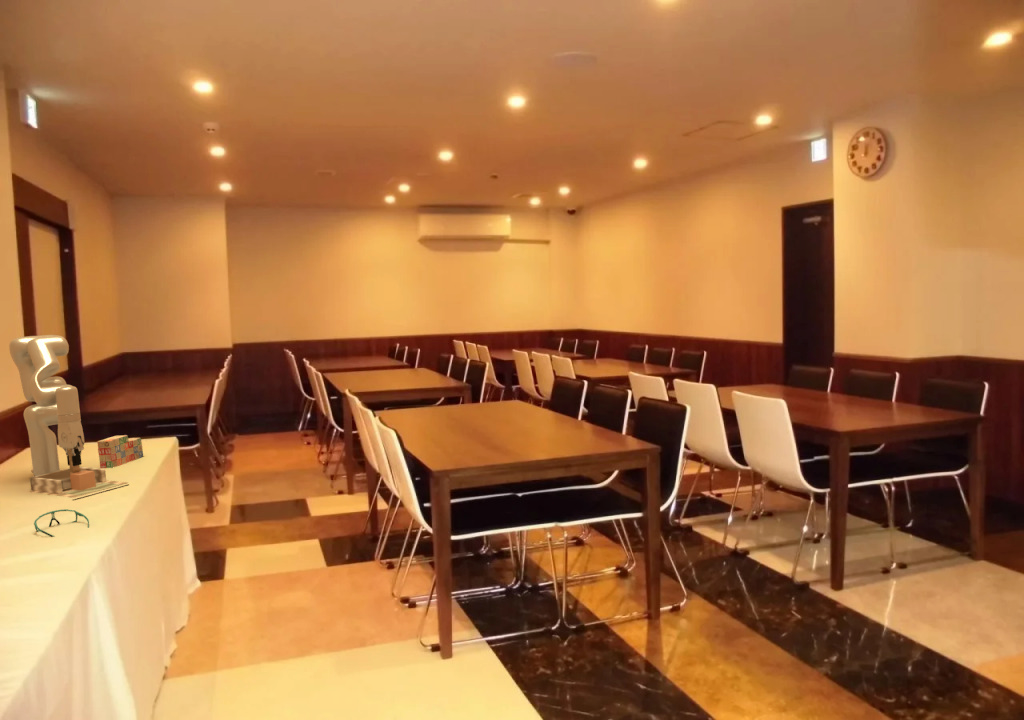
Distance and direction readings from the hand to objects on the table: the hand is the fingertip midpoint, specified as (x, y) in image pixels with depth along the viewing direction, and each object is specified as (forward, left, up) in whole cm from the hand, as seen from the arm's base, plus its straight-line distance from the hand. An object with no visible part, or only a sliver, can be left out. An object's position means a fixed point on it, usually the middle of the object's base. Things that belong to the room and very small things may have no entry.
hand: (74, 464), depth 293 cm
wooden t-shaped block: (0, 0, -8) cm, 8 cm away
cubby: (+1, 0, -10) cm, 10 cm away
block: (+4, 0, -9) cm, 10 cm away
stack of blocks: (-30, +39, -10) cm, 50 cm away
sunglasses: (+48, -34, -10) cm, 60 cm away
